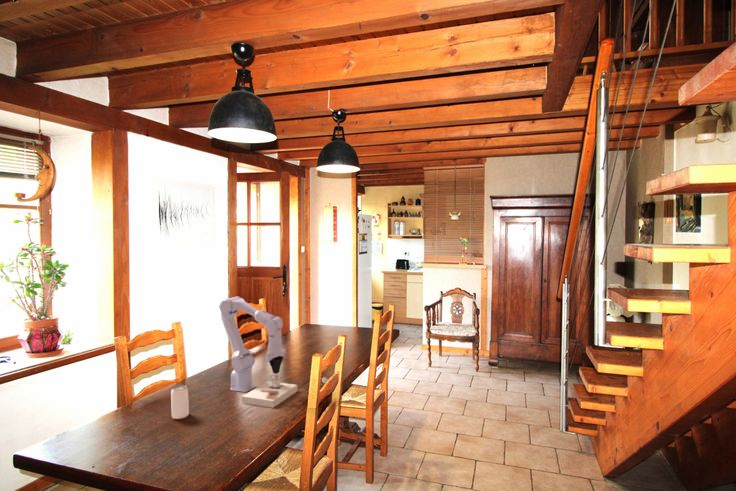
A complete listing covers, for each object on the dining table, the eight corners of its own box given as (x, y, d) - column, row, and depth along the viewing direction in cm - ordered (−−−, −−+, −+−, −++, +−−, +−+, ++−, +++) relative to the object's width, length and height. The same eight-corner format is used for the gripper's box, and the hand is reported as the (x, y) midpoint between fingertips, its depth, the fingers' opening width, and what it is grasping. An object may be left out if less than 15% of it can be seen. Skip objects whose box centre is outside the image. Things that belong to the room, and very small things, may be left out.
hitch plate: (241, 403, 189) (241, 396, 189) (268, 387, 208) (268, 381, 208) (273, 407, 184) (272, 400, 184) (297, 391, 202) (297, 384, 202)
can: (172, 420, 173) (171, 391, 173) (171, 414, 179) (170, 386, 178) (189, 417, 176) (188, 388, 176) (188, 411, 182) (187, 383, 181)
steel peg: (269, 394, 199) (269, 377, 199) (274, 390, 203) (273, 374, 203) (278, 395, 198) (278, 378, 197) (283, 391, 202) (282, 374, 202)
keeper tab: (260, 391, 187) (261, 389, 188) (270, 392, 194) (270, 390, 194) (268, 392, 186) (269, 390, 186) (277, 393, 193) (278, 391, 193)
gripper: (273, 348, 192) (274, 378, 192) (291, 340, 205) (291, 368, 206) (260, 347, 194) (261, 377, 195) (278, 339, 208) (279, 367, 208)
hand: (276, 372), depth 200 cm, fingers closed
